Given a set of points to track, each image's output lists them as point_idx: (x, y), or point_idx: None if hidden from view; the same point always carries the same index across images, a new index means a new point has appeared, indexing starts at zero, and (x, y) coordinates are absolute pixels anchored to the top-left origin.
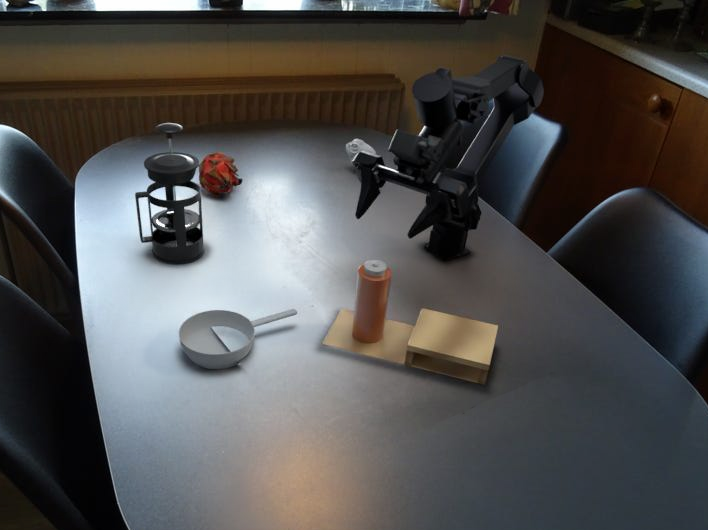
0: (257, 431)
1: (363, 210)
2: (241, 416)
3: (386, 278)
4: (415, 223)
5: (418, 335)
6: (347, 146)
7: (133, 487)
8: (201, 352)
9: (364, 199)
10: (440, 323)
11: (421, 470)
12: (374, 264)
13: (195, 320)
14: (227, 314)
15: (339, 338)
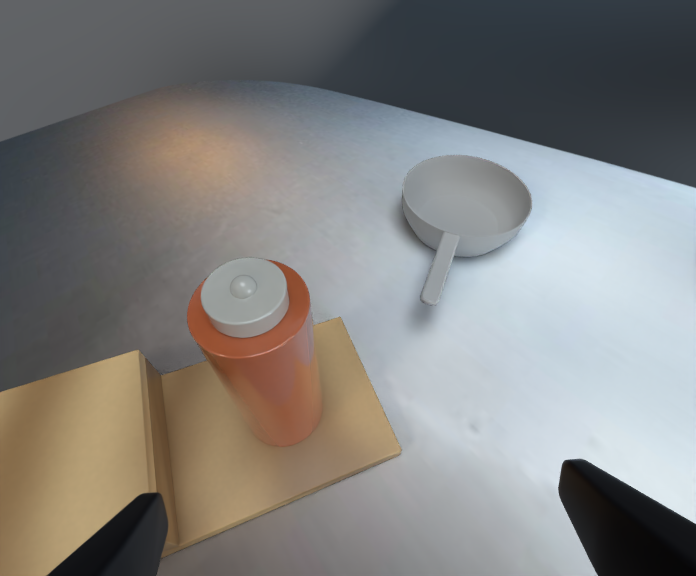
0: (291, 171)
1: (605, 547)
2: (324, 174)
3: (192, 296)
4: (85, 566)
5: (122, 397)
6: None
7: (332, 96)
8: (465, 206)
9: (684, 559)
10: (70, 500)
11: (72, 232)
12: (242, 275)
13: (524, 203)
14: (509, 235)
15: (324, 350)
